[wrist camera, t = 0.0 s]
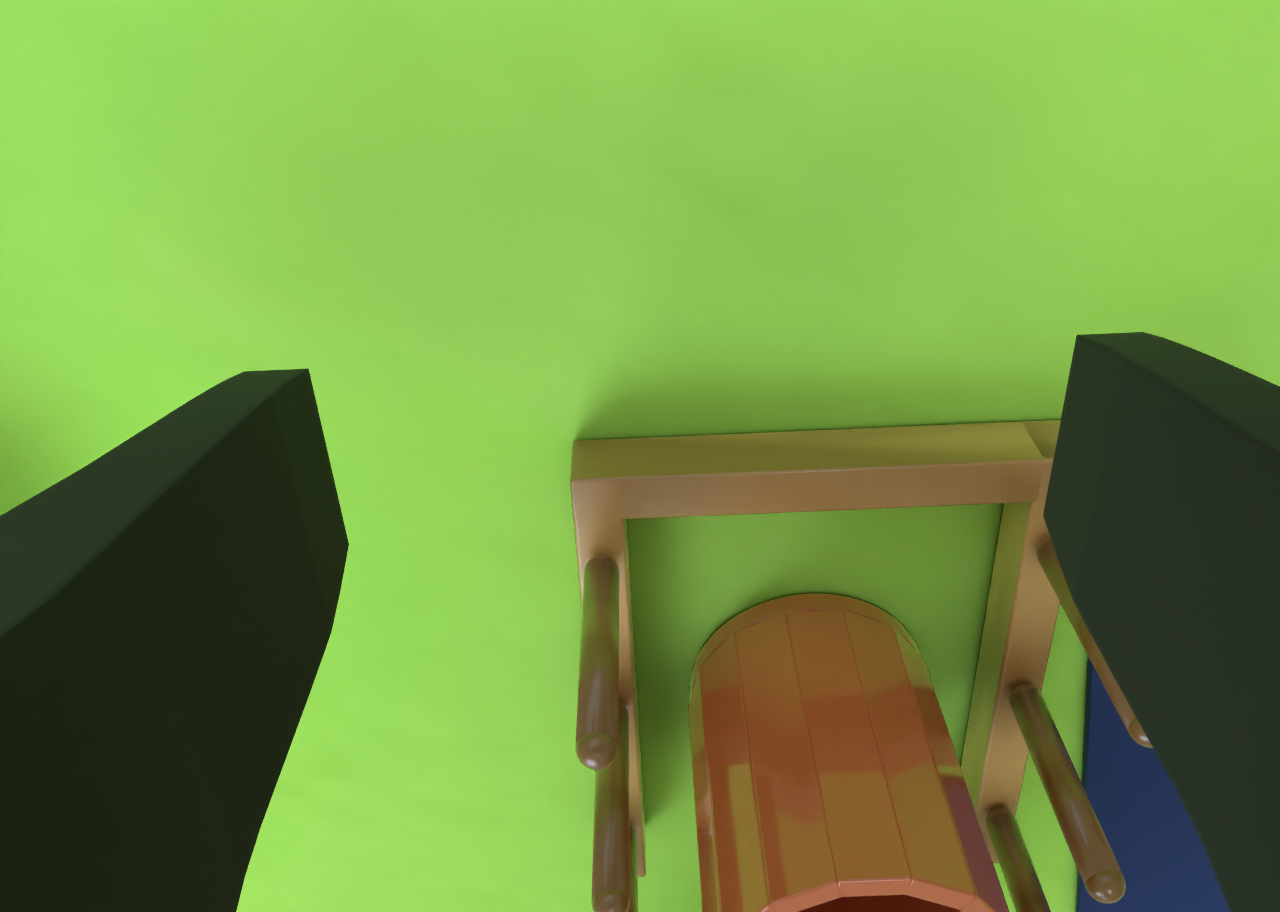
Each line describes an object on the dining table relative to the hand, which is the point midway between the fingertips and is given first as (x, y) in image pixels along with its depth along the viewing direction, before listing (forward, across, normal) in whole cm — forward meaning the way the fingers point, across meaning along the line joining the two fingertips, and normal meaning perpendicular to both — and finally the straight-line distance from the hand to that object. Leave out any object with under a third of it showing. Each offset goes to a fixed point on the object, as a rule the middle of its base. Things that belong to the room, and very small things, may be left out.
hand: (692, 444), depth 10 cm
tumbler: (+10, -3, +13) cm, 17 cm away
